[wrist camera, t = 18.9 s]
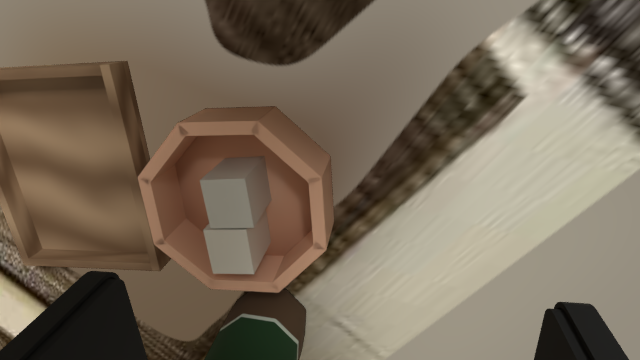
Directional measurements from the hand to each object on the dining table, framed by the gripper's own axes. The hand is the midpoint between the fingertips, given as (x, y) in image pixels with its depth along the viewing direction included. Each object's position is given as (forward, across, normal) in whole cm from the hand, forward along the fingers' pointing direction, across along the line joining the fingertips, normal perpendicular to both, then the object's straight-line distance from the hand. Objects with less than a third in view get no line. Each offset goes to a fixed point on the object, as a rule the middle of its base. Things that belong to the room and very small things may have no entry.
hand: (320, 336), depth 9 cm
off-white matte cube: (+23, +10, +7) cm, 26 cm away
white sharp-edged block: (+23, +11, +11) cm, 28 cm away
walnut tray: (+24, +27, +6) cm, 37 cm away
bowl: (+24, +10, +8) cm, 28 cm away
